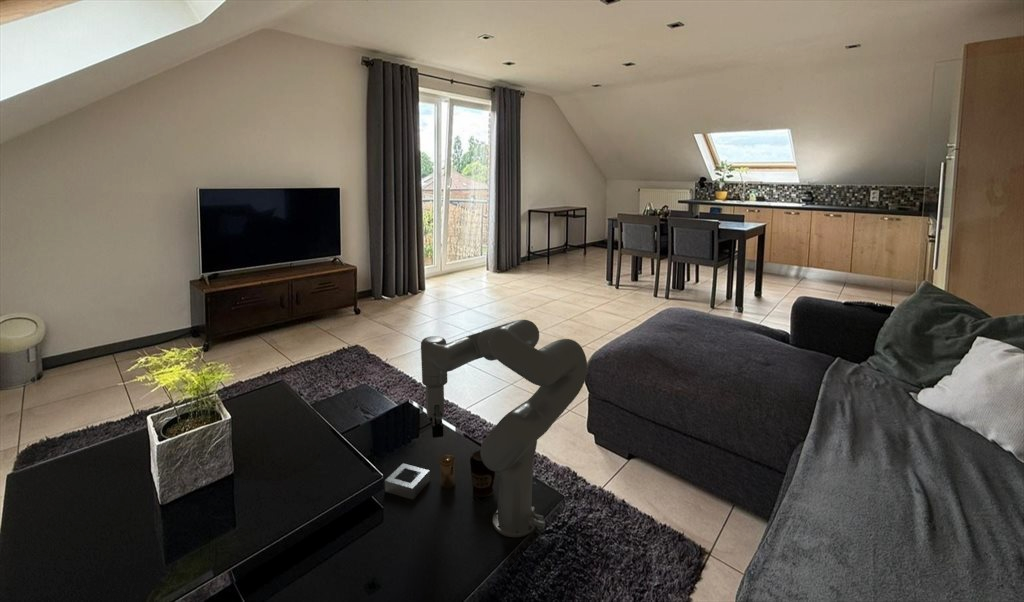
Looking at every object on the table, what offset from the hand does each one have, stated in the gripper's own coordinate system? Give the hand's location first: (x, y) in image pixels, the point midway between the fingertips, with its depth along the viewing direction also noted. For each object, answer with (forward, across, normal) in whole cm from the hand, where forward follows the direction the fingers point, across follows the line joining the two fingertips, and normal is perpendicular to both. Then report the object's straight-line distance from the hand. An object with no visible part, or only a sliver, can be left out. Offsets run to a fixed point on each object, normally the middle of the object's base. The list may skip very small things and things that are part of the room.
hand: (436, 428), depth 152 cm
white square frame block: (+20, -1, -10) cm, 22 cm away
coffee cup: (+20, +7, +13) cm, 25 cm away
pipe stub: (+20, 0, +3) cm, 20 cm away
